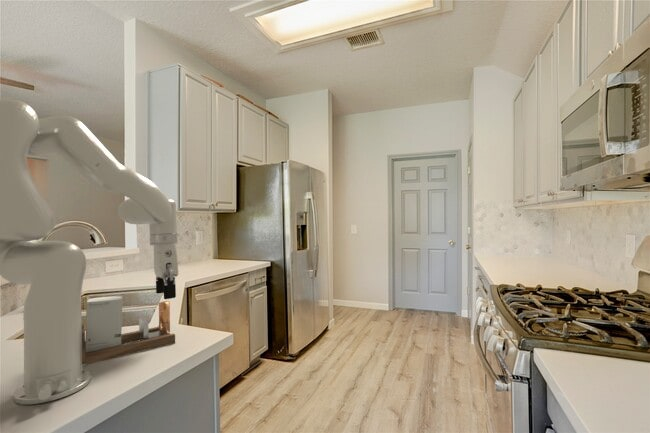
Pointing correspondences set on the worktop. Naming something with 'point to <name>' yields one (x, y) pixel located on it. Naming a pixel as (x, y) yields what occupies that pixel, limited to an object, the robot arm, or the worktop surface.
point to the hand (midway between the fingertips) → (165, 295)
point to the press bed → (125, 346)
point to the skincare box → (103, 323)
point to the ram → (163, 323)
